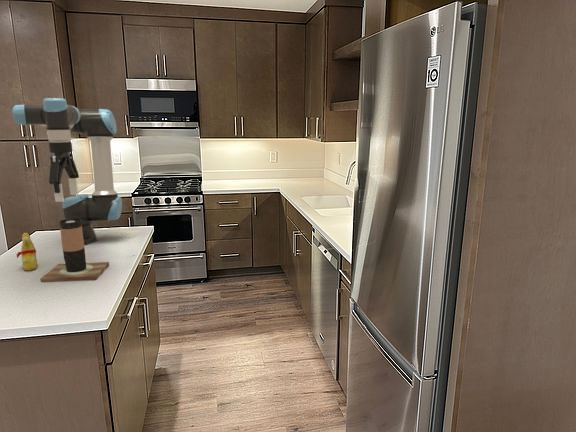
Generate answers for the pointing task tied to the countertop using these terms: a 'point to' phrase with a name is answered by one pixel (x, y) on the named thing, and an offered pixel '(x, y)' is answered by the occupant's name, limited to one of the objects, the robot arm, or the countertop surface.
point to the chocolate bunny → (28, 253)
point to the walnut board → (75, 273)
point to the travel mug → (73, 245)
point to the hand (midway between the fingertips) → (67, 198)
